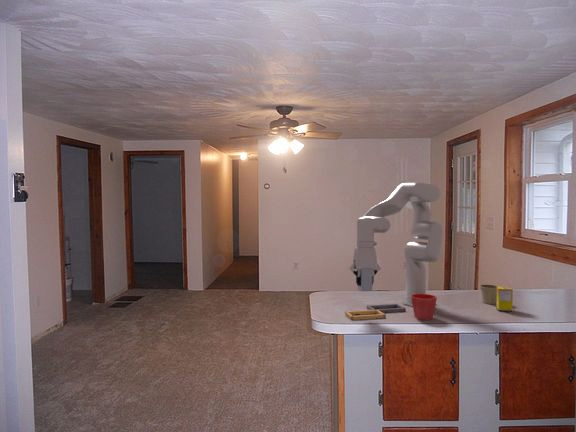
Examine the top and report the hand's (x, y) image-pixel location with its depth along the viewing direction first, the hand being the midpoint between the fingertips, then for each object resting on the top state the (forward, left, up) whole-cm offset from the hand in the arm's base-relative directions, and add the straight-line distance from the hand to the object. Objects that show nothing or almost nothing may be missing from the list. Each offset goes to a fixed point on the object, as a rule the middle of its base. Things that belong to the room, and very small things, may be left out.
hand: (364, 284), depth 179 cm
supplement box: (-69, +4, -15) cm, 71 cm away
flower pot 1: (-25, +7, -15) cm, 30 cm away
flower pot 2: (-72, -10, -15) cm, 74 cm away
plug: (0, 0, -2) cm, 2 cm away
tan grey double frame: (-7, -4, -14) cm, 17 cm away
